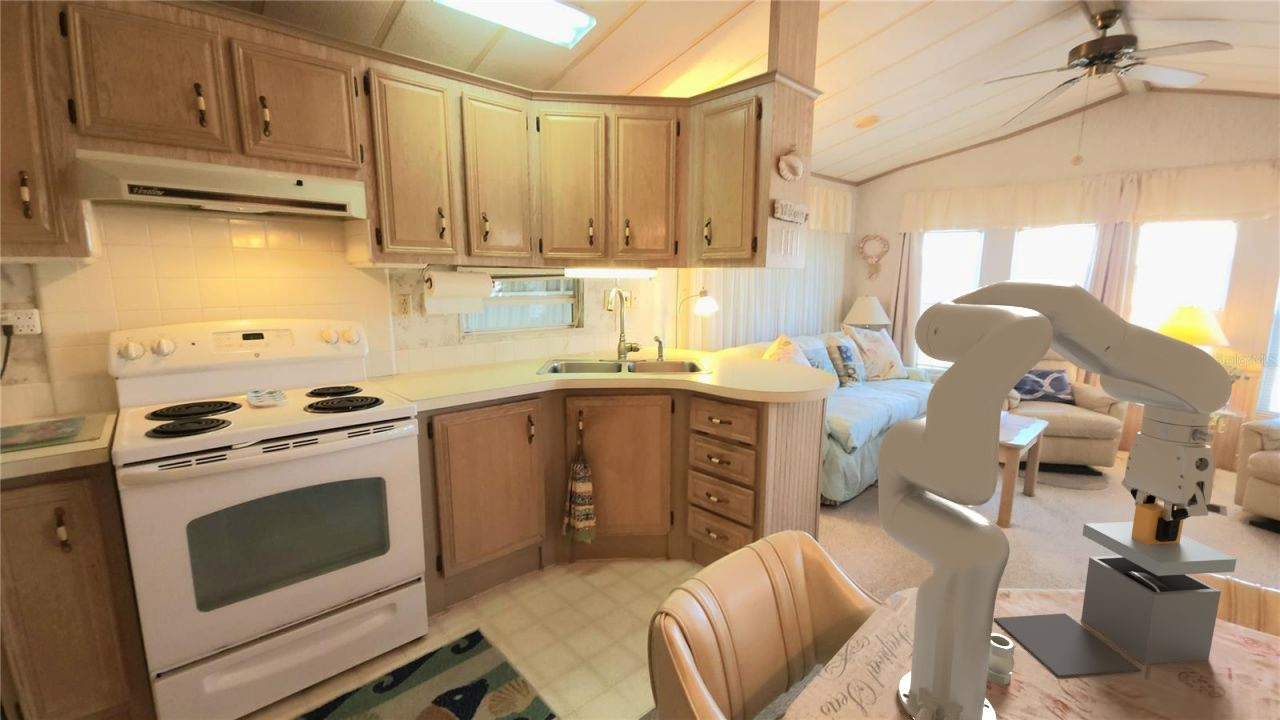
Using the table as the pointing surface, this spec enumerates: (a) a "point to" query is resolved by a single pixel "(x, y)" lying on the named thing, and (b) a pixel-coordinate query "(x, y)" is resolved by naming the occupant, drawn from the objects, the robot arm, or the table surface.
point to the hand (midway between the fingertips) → (1155, 535)
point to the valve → (1000, 660)
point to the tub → (1150, 612)
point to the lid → (1157, 545)
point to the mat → (1065, 645)
